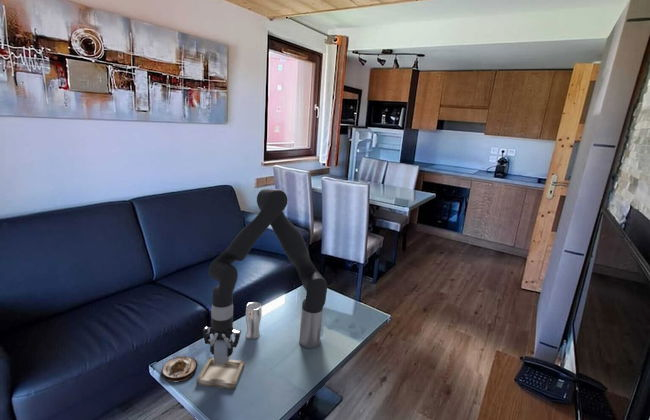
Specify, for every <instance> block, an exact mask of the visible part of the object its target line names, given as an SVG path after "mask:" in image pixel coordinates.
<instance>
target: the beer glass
mask: <svg viewBox="0 0 650 420" xmlns="http://www.w3.org/2000/svg"><path fill="white" fill-rule="evenodd" d="M262 312H263V311H262V304H261V303H260V302H257V301H252V302H248V303H247V304H246V308H245V322H246V333H245V336H246V338H247V339H249V340H256V339H258V338H259V337H260V325H261V319H262Z"/></svg>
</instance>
